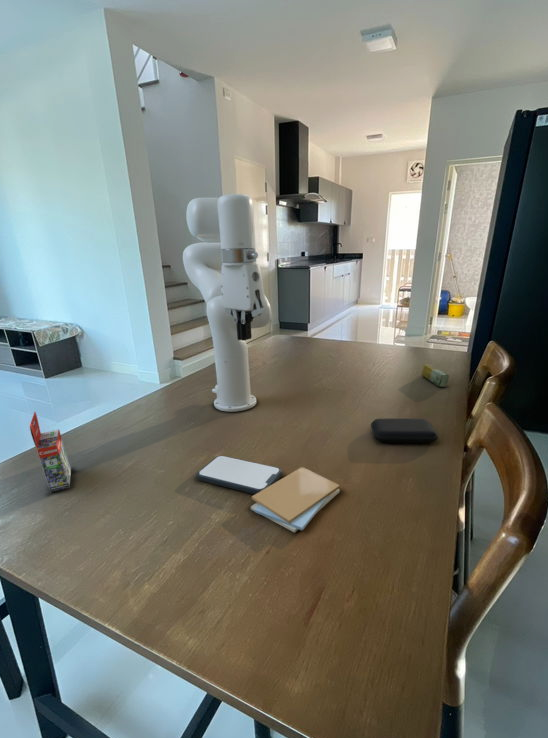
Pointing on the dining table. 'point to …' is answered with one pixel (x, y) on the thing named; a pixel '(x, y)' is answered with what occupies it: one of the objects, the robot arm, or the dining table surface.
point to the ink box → (51, 456)
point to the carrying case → (403, 430)
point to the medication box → (435, 375)
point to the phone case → (239, 474)
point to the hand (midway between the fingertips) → (244, 339)
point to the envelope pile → (295, 498)
